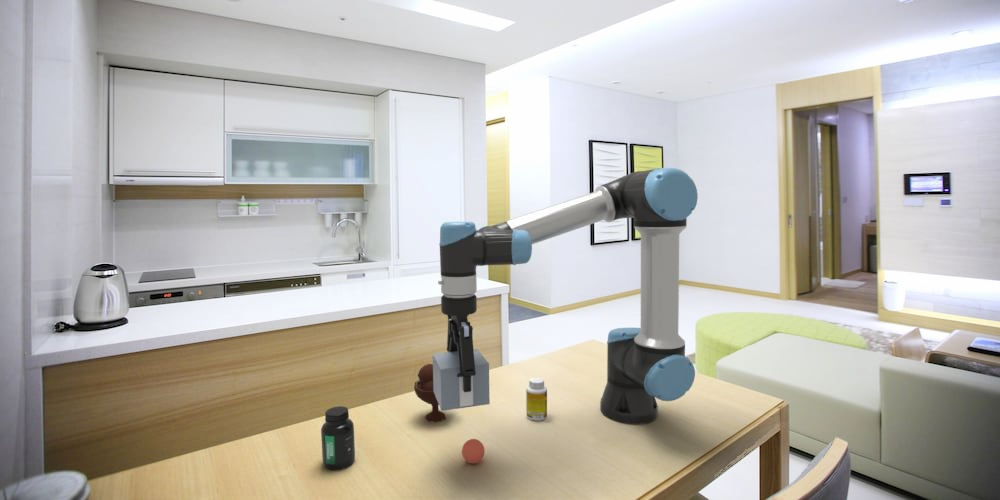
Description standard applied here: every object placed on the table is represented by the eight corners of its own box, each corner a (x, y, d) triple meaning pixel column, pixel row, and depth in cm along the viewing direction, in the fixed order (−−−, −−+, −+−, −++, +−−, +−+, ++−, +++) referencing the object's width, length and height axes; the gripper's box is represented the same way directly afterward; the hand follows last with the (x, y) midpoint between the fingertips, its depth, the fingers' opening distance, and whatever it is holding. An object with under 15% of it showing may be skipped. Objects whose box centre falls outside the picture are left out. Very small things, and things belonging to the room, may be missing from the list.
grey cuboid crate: (477, 386, 107) (476, 349, 107) (489, 404, 98) (489, 363, 97) (433, 391, 105) (432, 353, 104) (441, 410, 95) (440, 369, 94)
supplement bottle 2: (548, 421, 122) (548, 383, 121) (527, 421, 122) (527, 384, 121) (545, 411, 128) (545, 375, 127) (525, 412, 128) (525, 376, 127)
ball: (455, 444, 104) (466, 460, 106) (460, 455, 100) (472, 472, 101) (474, 430, 105) (485, 446, 107) (479, 441, 101) (491, 458, 102)
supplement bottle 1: (332, 475, 99) (329, 421, 98) (317, 463, 104) (314, 411, 102) (361, 461, 104) (358, 410, 103) (345, 450, 109) (343, 401, 107)
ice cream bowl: (449, 428, 119) (448, 371, 117) (408, 425, 121) (406, 369, 119) (461, 410, 129) (460, 358, 128) (422, 407, 131) (421, 355, 130)
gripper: (432, 286, 109) (435, 378, 111) (451, 306, 87) (454, 420, 89) (464, 284, 111) (465, 374, 113) (490, 304, 89) (491, 414, 91)
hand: (460, 394), depth 101 cm, fingers closed on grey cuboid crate, 10 cm apart
